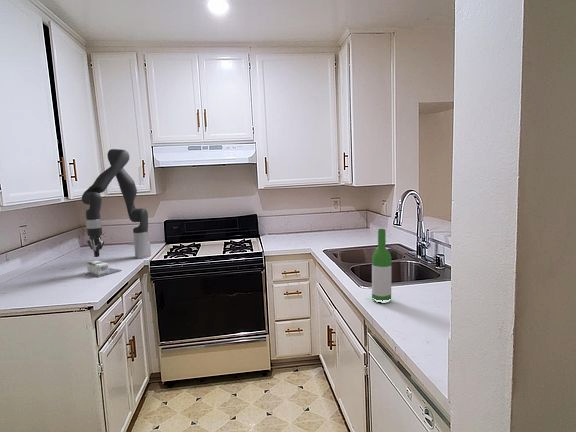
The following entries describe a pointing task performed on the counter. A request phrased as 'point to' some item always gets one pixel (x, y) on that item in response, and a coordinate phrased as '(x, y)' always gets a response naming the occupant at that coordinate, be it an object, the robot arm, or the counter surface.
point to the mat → (104, 274)
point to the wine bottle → (381, 269)
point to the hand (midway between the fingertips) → (96, 256)
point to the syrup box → (97, 267)
